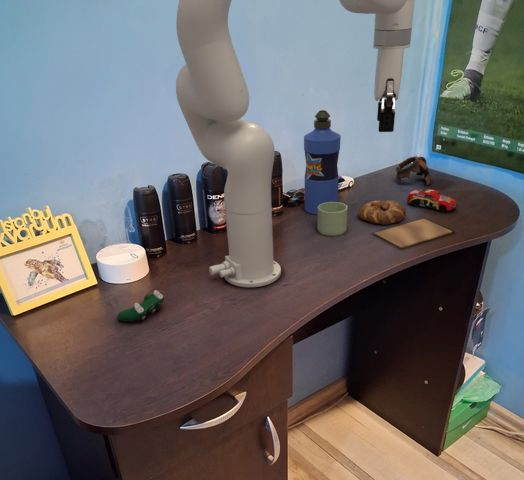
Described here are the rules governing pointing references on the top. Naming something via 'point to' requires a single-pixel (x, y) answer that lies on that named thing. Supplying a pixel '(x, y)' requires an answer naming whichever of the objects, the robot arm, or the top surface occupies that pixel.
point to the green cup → (332, 218)
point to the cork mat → (412, 233)
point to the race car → (431, 199)
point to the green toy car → (142, 307)
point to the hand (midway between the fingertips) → (384, 126)
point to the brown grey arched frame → (413, 168)
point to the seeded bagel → (382, 212)
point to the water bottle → (321, 163)
